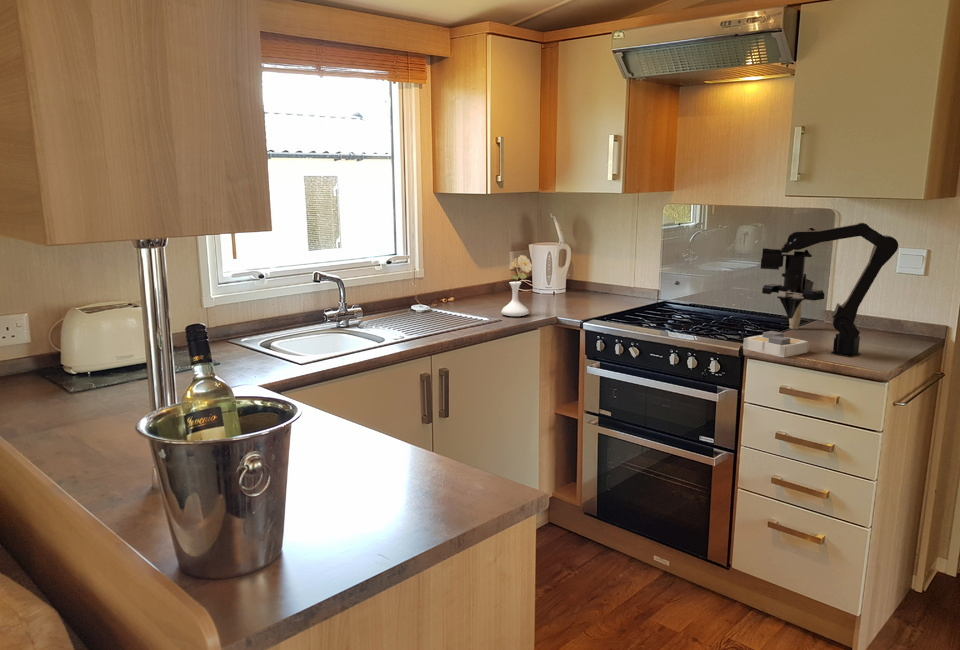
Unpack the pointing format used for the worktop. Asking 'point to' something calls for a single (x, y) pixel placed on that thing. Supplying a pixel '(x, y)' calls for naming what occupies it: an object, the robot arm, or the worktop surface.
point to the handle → (795, 318)
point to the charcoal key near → (779, 340)
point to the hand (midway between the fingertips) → (790, 318)
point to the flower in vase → (515, 306)
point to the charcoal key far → (772, 334)
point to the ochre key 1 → (761, 339)
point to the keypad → (776, 347)
